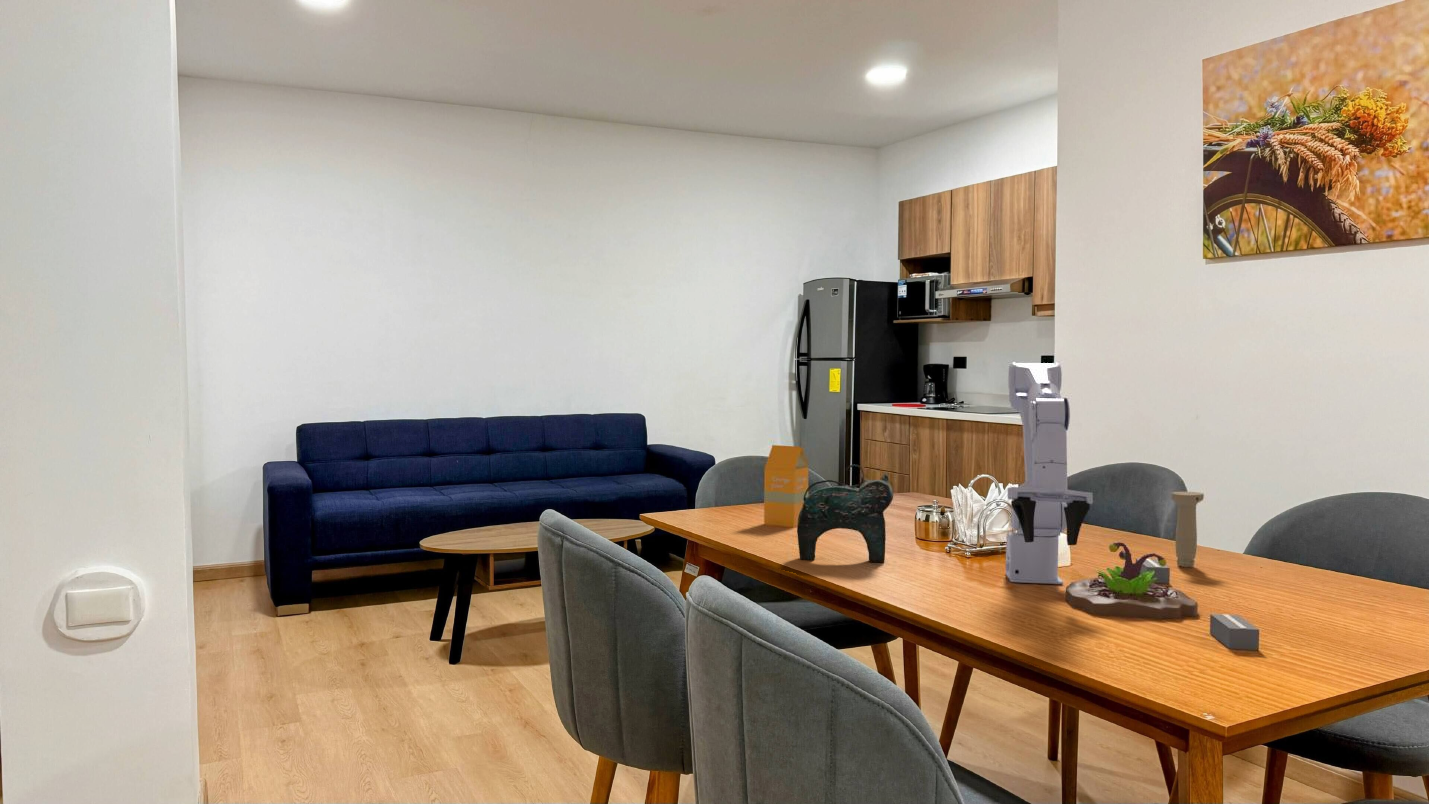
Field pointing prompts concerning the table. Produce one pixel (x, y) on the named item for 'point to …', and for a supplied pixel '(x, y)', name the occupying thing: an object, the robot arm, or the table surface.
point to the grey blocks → (1214, 616)
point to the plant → (1130, 592)
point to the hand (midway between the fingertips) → (1050, 543)
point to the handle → (1186, 526)
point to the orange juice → (785, 485)
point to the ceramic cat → (846, 514)
